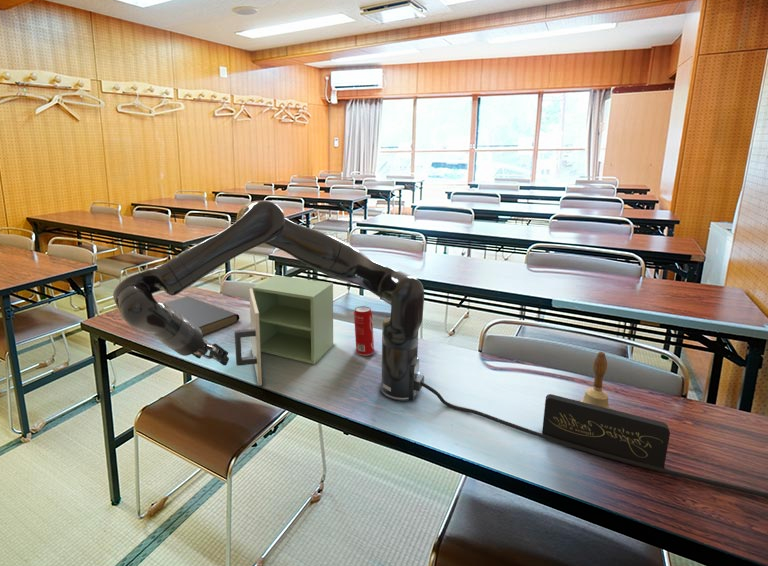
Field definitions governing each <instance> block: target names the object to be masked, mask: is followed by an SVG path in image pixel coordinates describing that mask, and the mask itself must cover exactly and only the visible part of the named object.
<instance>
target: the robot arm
mask: <svg viewBox="0 0 768 566" xmlns="http://www.w3.org/2000/svg"><path fill="white" fill-rule="evenodd" d="M263 244H265V245H267V246H270V247H272V248H275V249H278V250H280V251H283V252H284V253H286V254H288V255H290V256H291V257H293V258H294V259H296V260H298V261H300V262H301V263H303V264H305V265H306V266H307V267H310V268H312V269H314V270H316V271H318V272H319V273H320V274H321V273H322V274H324V275H326V276H327V277H330V278H332V279H335V280H337V281H340V282H342V283H343V282H344V283H347V284H353V285H356V286H357V285H358V286H359V287H362V288H364V289H366V290H367V291H369V292H370V293H372V294H373V295H376V296H377V297H378V298H380V299H381V300H382V301H383V302H385V303H386V304H388V305H390V316H389V317H386V318H385V319H383V321H382V331H381V332H382V333H381V334H382V335H381V336H382V337H381V378H380V379H381V382H380V392H381V394H382V395H383V396H384V397H386V398H388V399H391V400H393V401H400V402H404V401H405V402H407V401H411V402H413V401H414V400H415V398H416V396H417V394H418V392H421V389H422V388H424V389H426V390H428V391H430V392H431V393H432V394H434V395H435V396H436V397H437V398H438V400H439V401H440V402H441V404H443V405H444V406H446V407H448V408H450V409H453V410H456V411H460V412H465V413H469V414H472V415H476V416H479V417H481V418H484V419H488V420H491V421H493V422H495V423H499V424H500V425H503V426H506V427H508V428H512V429H515V430H517V431H521V432H523V433H526V434H529V435H532V436H534V437H538V438H540V439H543V440H545V441H550V442H553V443H556V444H559V445H562V446H565V447H569V448H572V449H575V450H578V451H581V452H584V453H588V454H592V455H595V456H599V457H602V458H606V459H609V460H612V461H616V462H620V463H622V464H623V463H624V464H628V465H632V466H634V467H639V468H643V469H646V470H650V471H653V470H654V471H653V472H657V471H658V473H662V474H666V475H670V476H674V477H678V478H683V479H686V480H691V481H695V482H700V483H704V484H708V485H712V486H715V487H720V488H725V489H728V490H732V491H737V492H740V493H741V492H742V493H745V494H750V495H754V496H758V497H763V498H766V499H768V492H766V491H763V490H759V489H755V488H752V487H751V488H750V487H746V486H742V485H737V484H733V483H730V482H724V481H720V480H716V479H712V478H708V477H703V476H698V475H694V474H690V473H686V472H682V471H678V470H673V469H670V468H666V467H664V468H660V467H656V466H653V465H649V464H646V463H642V462H638V461H634V460H630V459H626V458H623V457H619V456H615V455H612V454H608V453H604V452H601V451H597V450H594V449H590V448H587V447H583V446H580V445H577V444H573V443H570V442H567V441H564V440H560V439H557V438H554V437H551V436H548V435H545V434H542V432H538V431H536V430H532V429H529V428H527V427H524V426H521V425H518V424H515V423H511V422H509V421H507V420H504V419H501V418H498V417H496V416H492V415H491V414H488V413H484V412H482V411H479V410H475V409H472V408H468V407H464V406H463V407H462V406H458V405H454V404H452V403H450V402H449V401H447V400H446V399H444V397H443V396H442V395H441V394H440V393H439V392H438V391H437V390H436V389H435V388H433V387H432V386H430V385H428V384H427V383H425V375H423V374H420V358H419V357H418V356H419V355H418V353H419V351H418V350H419V331H420V328H421V326H422V324H423V316H424V307H425V306H424V305H425V290H424V289H425V288H424V286H423V283H422V282H421V281H420V280H419V279H418V278H416V277H414V276H412V275H410V274H408V273H406V272H404V271H401V270H398V269H395V268H392V267H389V266H386V265H384V264H381V263H380V262H379V263H378V262H376V261H374V260H373V259H371V258H369V257H368V256H367V255H366V254H364V253H363V252H362V251H361V250H359V249H358V248H356V247H354V246H353V245H352V244H350V243H348V242H345V241H344V240H342V239H339V238H338V237H336V236H334V235H331V234H329V233H326V232H323V231H320V230H318V229H317V230H316V229H313V228H310V227H307V226H303V225H300V224H298V223H296V222H293V221H292V220H289V219H288V218H287V217H285V214H284V211H283V210H282V208H281V207H280V206H279V205H278V204H277V203H275V202H273V201H270V200H264V199H263V200H253V201H249V202H247V203H245V204H244V205H243V206H242V207H240V209H238V212H237V215H236V221H235V222H234V223H233V224H231V225H230V226H228V227H227V228H225V229H224V230H222V231H221V232H219V233H217V234H216V235H214V236H211V237H209V238H207V239H205V240H203V241H202V242H199V243H197V244H195V245H193V246H191V247H189V248H187V249H185V250H183V251H181V252H180V253H179V254H177V255H175V256H174V257H172V258H170V259H168V260H167V261H166V262H164V263H163V264H161V265H159V266H156V267H153V268H149V269H146V270H143V271H141V272H138V273H135V274H133V275H130V276H128V277H126V278H124V279H123V280H122V281H121V282H119V283H118V284H117V286H116V287H115V288H114V290H113V294H112V298H113V301H114V303H115V305H116V307H117V309H118V312H119V313H120V315H121V318H122V319H123V321H124V322H125V323H126V324H127V325H129V326H130V327H131V328H133V329H136V330H138V331H140V332H141V331H142V332H144V333H145V332H146V333H149V334H151V335H152V336H153V337H155V338H157V339H158V340H159V341H160V342H161V343H162V344H164V346H166V347H168V348H169V349H171V350H172V351H174V352H176V353H177V354H178V355H180V356H184V357H186V356H191V355H192V356H193V357H195V358H196V359H201V358H202V357H203V358H205V359H207V360H214V361H216V362H218V363H219V364H220V365H222V366H227V365H228V363H229V360H230V358H229V356H228V355H229V351H227V350H226V349H224V348H223V347H221V345H219V344H218V343H211V342H209V341H208V340H207V339H205V338H204V335H203V333H202V331H201V329H200V328H199V327H197V326H196V325H195V324H194V323H192V322H191V321H190V320H189V319H187V318H186V317H185V316H183V315H181V314H179V313H178V312H177V311H175V310H174V309H173V308H172V307H170V306H169V305H167V304H165V302H158V301H157V300H156V299H155V296H154V295H153V294H155V293H159V292H162V291H163V292H165V293H166V294H167V295H168V296H172V297H173V296H177V295H179V294H180V293H182V292H183V291H185V290H187V289H189V288H190V287H191V286H193V285H194V284H196V283H197V282H199V281H201V280H202V279H203V278H205V277H206V276H208V275H210V273H212V272H214V271H216V270H217V269H218V268H220V267H222V266H223V265H224V264H226V263H228V262H229V261H232V260H233V259H235V258H237V257H238V256H240V255H242V254H243V253H246V252H248V251H250V250H252V249H254V248H257V247H259V246H261V245H263ZM208 352H209V354H207V353H208Z"/></svg>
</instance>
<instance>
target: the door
mask: <svg viewBox="0 0 768 566" xmlns="http://www.w3.org/2000/svg"><path fill="white" fill-rule="evenodd" d="M248 293H249V310H250V311H249V314H250V315H249V316H250V328H248V329H237V330H234V345H235V346H234V347H235V365H236V366H237V367H238V366H250V365H254V370H255V374H256V380H257V381H256V382H257V385H258V387H259V386H263V379H262V378H263V377H262V356H261V354H262V352H261V351H260V328H259V312H258V308H257V304H256V301H255V297H254V293H253V290H252V287H251V288H248ZM241 338H251V339H250V340H251V353H252V356H245V357H242V339H241Z"/></svg>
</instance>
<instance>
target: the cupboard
mask: <svg viewBox="0 0 768 566" xmlns="http://www.w3.org/2000/svg"><path fill="white" fill-rule="evenodd" d="M251 288H252V290H253V293H254V297H255V301H256V304H257V308H258V312H259V328H260V352H261V353H265V354H269V355H274V356H279V357H282V358H287V359H290V360H295V361H299V362H303V363H308V364H311V365H315V364H316V363H318V361H319V360H321V358H322V357H323V356H324V355H325V354H326V353H327V352H328V351H329V350H330V349H331V348H332V347H333V346H334V283H333V282H328V281H322V280H314V279H306V278H298V277H292V276H285V275H277V274H276V275H274V276H271V277H269V278H268V279H265V280H264V281H261V282H260V283H258V284H256V285H254V286H252V287H251Z"/></svg>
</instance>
